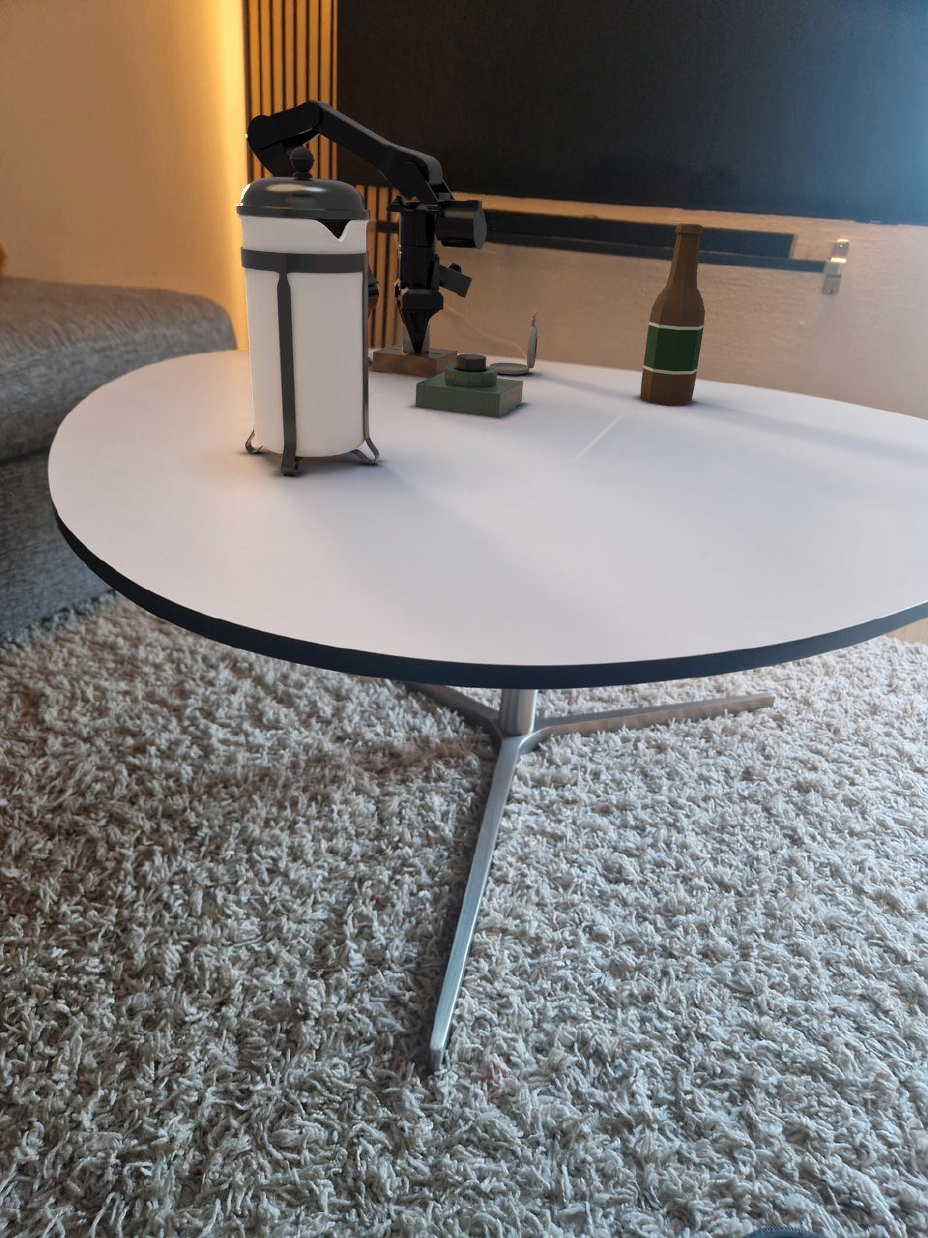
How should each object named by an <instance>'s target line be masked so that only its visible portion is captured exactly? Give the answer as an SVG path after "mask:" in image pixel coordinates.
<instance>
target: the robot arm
mask: <svg viewBox="0 0 928 1238" xmlns="http://www.w3.org/2000/svg"><path fill="white" fill-rule="evenodd" d="M319 135H321V136H322V137H324V138H325V139H328V140H329V141H331V142H332V143H334V144H335V145H337V146H340V147H341V148H343V149H344V150H346V151H348V152H349V153H351V154H353V155H354V156H356V157H358V158H359V159H361V160H363V161H365V162H366V163H368V164H369V165H371V166H373V167H374V168H375V169H376V170H378V172H379V173H380V174H381V175H382V177H384V179H385V180H386V181H387V182H388V183H389V184H390V185H392V186H393V188H394V189H396V190H397V191H398V192H399V193H400V194H401V195H399V194H398V195H395V197H394V199H393V200H392V201H391V202H390V203H389V204H388V205H387V206H386V207H385V211H386V212H387V213H399V216H398V217H399V218H398V221H399V222H398V223H399V224H398V225H399V226H398V227H399V231H398V232H399V235H398V240H399V241H398V251H397V259H398V278H397V279H396V280H395V281H394V282H393V284H392V286H393V287H392V296H393V297H394V298H399V296H400V299H395V300H394V301H395V304H396V307H397V310H398V313H399V316H400V318H401V321H402V325H403V324H405V325H406V328H407V331H408V334H409V337H410V340H411V343H412V346H413V349H414V352H416V353H420V352H421V351H422V347H423V343H424V339H425V334H426V330H427V326H428V325H429V322H430V320H431V319H432V318H433V317H434V316H435V315H436V314H438V313H439V312H440V311H441V310H444V303H445V302H444V301H445V300H444V299H445V297H444V295H443V294H442V293H441V292H440V287H441V288H443V289H445V290H448V291H450V292H452V293H455V294H457V296H459V297H461V298H463V299H466V298H467V294H468V292H469V289H470V287H471V285H472V281H473V277H471V276H469V275H467V274H465V273H463V270H462V266H461V265H460V264H457V263H455V262H453V261H451V262H450V263H449V264H448V265H444V264H440V263H441V262H440V261H441V260H440V259H441V258H440V256H439V253H437V241H438V242H439V241H440V243H441V245H442V247H444V248H451V249H452V248H453V249H467V250H481V249H483V247H484V245H485V242H486V237H487V231H488V224H487V223H486V216H485V215H486V214H485V211H484V209H483V200H482V199H466V200H459V199H458V200H456V198H455V196H454V195H453V193H452V192H451V190H450V188H449V187H448V185H447V183H446V182H445V180H444V176H443V175H444V173H443V169H442V164H441V163H440V161H439V160H437V159H436V157H434V156H431V155H428V154H426V153H423V152H420V151H417V150H415V149H411V148H408V147H404V146H400V145H398V144H395V143H393V142H391V141H390V140H387V139H385V138H384V137H382V136H380V135H379V134H377V133H376V132H374V131H372V130H370V129H369V128H367V127H365V126H364V125H362V124H361V123H359V122H357V121H355V120H354V119H352V118H350V117H348V116H347V115H345V114H343V113H342V112H340V111H338V110H336V109H335V108H333V107H332V106H331V104H330V103H328V102H325V101H321V100H316V99H308V100H306V101H305V102H302V103H300V104H298V105H296V106H294V107H290V108H287V109H284V110H281V111H277V112H274V113H272V114H269V115H268V114H257V115H256V116H254V117H253V118H252V119H251V120H250V121H249V124H248V126H247V132H246V134H245V137H246V142H247V145H248V147H249V149H250V150H251V152H252V153H253V154H254V156H255V157H256V159H257V160H258V161H259V164H260V165H261V166H262V167H264V168H265V170H267V172H269V174H270V175H272V177H293V174H294V173H296V172H298V171H297V170H295V169H294V167H293V166H292V164H291V160H290V158H291V154H292V152H293V150H294V149H296V148H298V147H305V146H304V145H306V144H308V143H311V142H312V141H313V140H314V139H316V138H317V137H318V136H319ZM307 173H309V171H308V172H307ZM297 178H299V177H297ZM405 196H406V197H410V198H415V199H417V200H418V201H414V200H407V198H406V197H405ZM427 206H437V209H428V207H427ZM367 280H368V320H369V319H370V317H371V313H372V311H373V310H374V309H375V308H376V307H377V305H378V302H379V298H380V291H379V288H378V284H380V281H379V280H377V278H376V277H375V275H374V274H373V272H372V270H371V266H370V265H369V270H368V272H367ZM370 359H371V357H370V356H368V362H369V361H370Z"/></svg>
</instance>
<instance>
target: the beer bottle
mask: <svg viewBox="0 0 928 1238" xmlns="http://www.w3.org/2000/svg"><path fill="white" fill-rule="evenodd" d="M674 232H675V234H676V238H675V244H674V248H673V254H672V259H671V264H670V269H669V274H668V277H667V280H666V284H665V286H664V288H663V289H662V290H661V292H659V294H658V295H657V297H656V299H655V300H654V303H653V305H652V307H651V311H650V315H649V320H648V327H647V335H646V342H645V352H644V357H643V367H642V375H641V382H640V392H639V393H640V394H639V395H640V396H639V397H640V399H641V400H643V401H645V402H647V403H649V404H656V405H663V406H687V405H688V404H689V403H691V402H692V400H693V396H694V391H695V386H696V379H697V374H698V368H699V367H698V366H699V359H700V353H701V347H702V341H703V333H704V327H705V317H706V310H705V304H704V303H705V302H704V299H703V297H702V295H701V293H700V290H699V288H698V268H699V256H700V245H701V236H702V235H703V234H704V227H703V225H702V224H699V223H683V222H682V223H679V224H677V226H676V227H675V231H674Z"/></svg>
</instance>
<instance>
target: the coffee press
mask: <svg viewBox="0 0 928 1238" xmlns="http://www.w3.org/2000/svg"><path fill="white" fill-rule="evenodd" d="M314 157H315V156H314V154H313V153H312V151H311V150H310V149H309V148H307V147H305V146H304V147H298V148H296V149H294V150H293V152H292V154H291V158H290V160H291V164H292V166H293V167H294V169H295V170H297V171H298V172H296V173H294V174H293V177H274V176H269V177H268V176H267V177H261V178H258V179H255V180H253V181H251V182H250V183H248V184H247V185H246V187H244V189H243V191H242V194H241V197H240V202H239V203H238V204H236V205H235V208H236V209H235V211H236V214H237V216H238V218H239V220H240V225H241V238H242V240H241V241H242V246H240V261H241V267H242V268H243V271H244V272H243V273H244V289H245V291H244V292H245V306H246V321H247V323H246V324H247V336H248V337H247V338H248V353H249V354H248V357H249V371H250V387H251V401H252V402H251V403H252V416H253V417H252V418H253V429H252V431H251V433H250V435H249V437H248V438H247V440H246V441H245V443H244V447H245V450H246V451H247V452H248V453H249V454H256V453H258V452H259V451H261V450H262V449H263V448H264V449H266V450H268V451H270V452H273V453H276V454H279V455H282V457H281V462H280V472H281V474H283V475H290V476H296V475H297V474H298V472H299V469H300V464H301V461H302V460H303V458H317V457H318V458H321V457H322V458H323V457H332V456H337V455H339V456H340V455H343V454H348V453H349V454H354V455H356V456H357V457H358V458H359V459H360V460H362V461H363V463H365V464H366V465H369V466H370V465H371V466H372V465H374V464H375V463H376V462H377V461H378V460H379V459H380V456H381V455H380V451H379V450H378V448H377V447H376V445H375V444H374V442H373V440H372V438H371V435H370V412H369V411H370V410H369V409H370V408H369V407H370V405H369V404H370V403H369V401H370V400H369V399H370V398H369V397H370V395H369V392H370V391H369V389H370V388H369V361H368V357H369V319H368V280H367V272H368V270H369V266H370V255H369V254H370V252H369V250H367V226H368V224H369V222H370V220H369V219H371V210H370V209H367V207H366V201H365V199H364V196H363V195H362V193H361V192H360V191H359V190H358V189H357V188H356V187H354V186H353V185H351V184H350V183H347V182H344V181H342V180H337V179H328V178H316V177H313V174H312V173H310V171H311V170H312V169H313V167H314V164H315V162H316V159H315V158H314ZM307 172H308V173H307ZM297 177H299V178H297ZM254 437H255V439H256V441H257V443H259V445H260V446H259V448H255V447H253V444H252V440H253V439H254ZM364 443H366V445H367V447H368V448H369V450H370V451H371V452H372V454H373V456H374V460H373V459H370V458H369V456H367V455H366V454H365V453H364V451H362V450H360V449H358V448H360V447H361V446H362V445H363V444H364Z"/></svg>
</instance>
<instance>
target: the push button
mask: <svg viewBox="0 0 928 1238" xmlns="http://www.w3.org/2000/svg"><path fill="white" fill-rule="evenodd" d="M486 366H487V356H486V355H483V354H476V353H460V354H457V369H456V370H459V371H465V372H484V371H486Z"/></svg>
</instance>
